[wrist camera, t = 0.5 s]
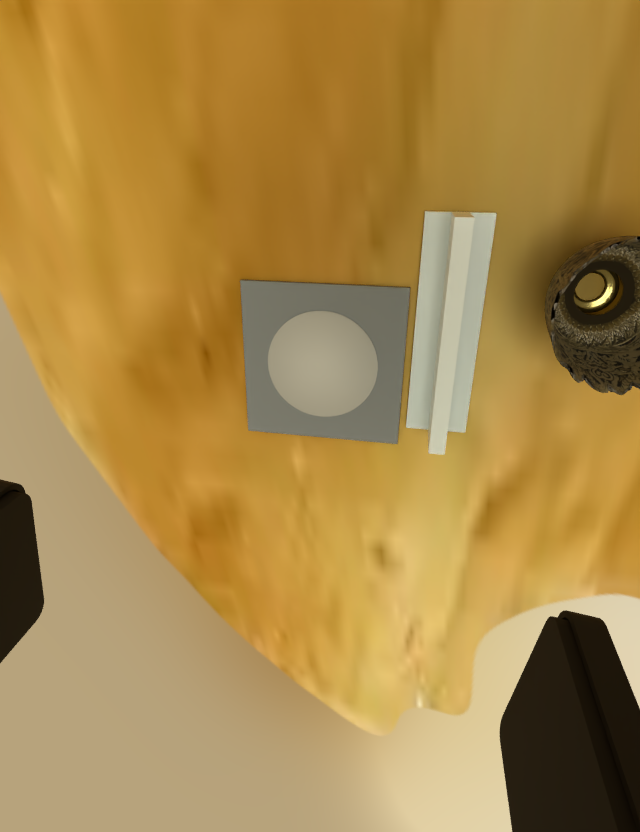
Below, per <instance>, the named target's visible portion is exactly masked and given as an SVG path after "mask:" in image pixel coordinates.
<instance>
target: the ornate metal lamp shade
mask: <svg viewBox="0 0 640 832" xmlns="http://www.w3.org/2000/svg"><path fill="white" fill-rule="evenodd" d="M589 273H597V274H599V275H601V276H602V277H603V278H604V280H605V289H604V291H603V293H602V294H601V295H600V296H599V297H598V298H596V299H594V300H591V301H585V300H582V299H580V298H579V297H578V296H577V294H576V291H575V288H576V286H577V284H578V283H579V281H580V280H581V279H582V278H583V277H584V276H585V275H587V274H589ZM545 318H546V323H547V328H548V332H549V335H550V338H551V341H552V345H553V349H554V353H555V355H556V358H557V359H558V361H559V362H560V364H561V365H562V366H563V367H565V368H566V369H568V370H569V372H570V374H571V376H572V378H573V379H574V380H575V381H576V382H578V383H580V382H581V381H583V380H585V381H586V382H587V383H588V385H590V386H591V387H592V388H593V389H595V390H597V391H599V392H602V393H608V391H610V392H615V393H617V394H619V395H623V394H625V393H626V392H627V391H628V390H631V388H632V386H635V387H637V388H639V389H640V236H624V237H614V238H609V239H605V240H601V241H598V242H595V243H593V244H590V245H588V246H586V247H584V248H582V249H581V250H579V251H578V252H576V253H575V254H573V255H572V256H571V257H570V258H568V259H567V260H566V261H565V262H564V263H563V265H562V266H561V267H560V268H559V269H558V271H557V272H556V274H555V275H554V277H553V279H552V281H551V283H550V285H549V288H548V291H547V295H546V300H545Z"/></svg>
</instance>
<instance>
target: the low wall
mask: <svg viewBox="0 0 640 832" xmlns="http://www.w3.org/2000/svg"><path fill="white" fill-rule="evenodd" d="M496 215H497V213H495V212H454V211H425V219H424V230H423V241H422V253H421V264H420V275H419V286H418V297H417V309H416V320H415V331H414V342H413V353H412V365H411V376H410V387H409V398H408V410H407V421H406V428H416V429H428V453H431V454H441V455H445V447H446V440H447V432H448V431H451V432H463V433H465V431H466V424H467V417H468V410H469V403H470V396H471V389H472V382H473V375H474V368H475V361H476V354H477V347H478V340H479V333H480V326H481V319H482V312H483V305H484V298H485V292H486V285H487V278H488V271H489V264H490V257H491V250H492V243H493V236H494V229H495V222H496Z"/></svg>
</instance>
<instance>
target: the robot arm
mask: <svg viewBox="0 0 640 832" xmlns="http://www.w3.org/2000/svg"><path fill="white" fill-rule="evenodd" d="M43 605H44V596H43V588H42V580H41V572H40V564H39V556H38V549H37V541H36V534H35V525H34V517H33V509H32V501H31V498H30V496H29V495H27V494H26V493H25V490H24V488H23V487H22V485H20V484H17V483H13V482H8V481H4V480H0V663H1V662H2V660H3V659H4V658H5V657H6V656H7V654H8V653H9V652H10V651H11V650H12V649H13V648H14V646H15V645H16V644H17V643H18V642H19V641H20V639H21V638H22V637H23V636H24V635H25V633H26V632H27V631H28V630H29V629H30V628H31V626H32V625H33V624H34V623H35V622H36V620H37V619H38V618H39V616H40V614H41V612H42V609H43ZM500 743H501V751H502V758H503V765H504V773H505V780H506V788H507V795H508V802H509V809H510V817H511V825H512V832H640V709H639V706H638V704H637V701H636V699H635V696H634V694H633V691H632V689H631V686H630V684H629V681H628V679H627V676H626V674H625V671H624V669H623V666H622V664H621V661H620V659H619V656H618V654H617V652H616V649H615V647H614V644H613V641H612V639H611V636H610V634H609V631H608V629H607V626H606V625H605V623H604V621H603V620H601V619H600V618H596V617H592V616H588V615H583V614H579V613H575V612H570V611H562V612H561V613H560V614H559V616H558V618H557V617H549V618H548V619H547V621H546V623H545V625H544V627H543V629H542V632H541V634H540V636H539V638H538V640H537V642H536V645H535V647H534V649H533V651H532V653H531V655H530V658H529V660H528V662H527V664H526V666H525V668H524V671H523V673H522V675H521V677H520V679H519V682H518V684H517V686H516V688H515V690H514V692H513V695H512V697H511V699H510V701H509V703H508V705H507V707H506V710H505V712H504V714H503V717H502V720H501V724H500Z"/></svg>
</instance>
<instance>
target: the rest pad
mask: <svg viewBox="0 0 640 832" xmlns="http://www.w3.org/2000/svg"><path fill="white" fill-rule="evenodd" d="M240 283H241V302H242V320H243V339H244V358H245V376H246V395H247V414H248V430H249V431H260V432H271V433H282V434H293V435H304V436H315V437H326V438H337V439H348V440H359V441H370V442H381V443H392V444H397V442H398V430H399V418H400V406H401V394H402V382H403V370H404V357H405V345H406V333H407V321H408V309H409V297H410V287H392V286H370V285H348V284H326V283H304V282H282V281H260V280H240Z"/></svg>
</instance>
